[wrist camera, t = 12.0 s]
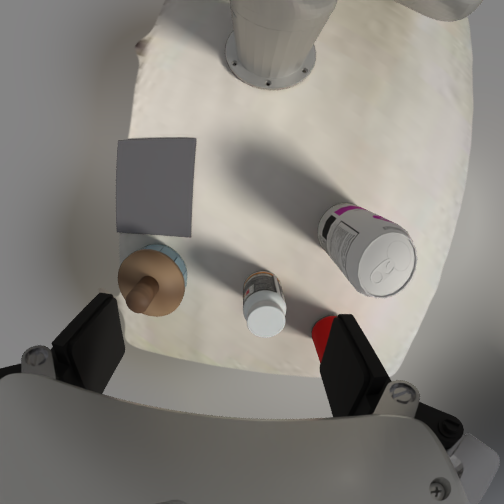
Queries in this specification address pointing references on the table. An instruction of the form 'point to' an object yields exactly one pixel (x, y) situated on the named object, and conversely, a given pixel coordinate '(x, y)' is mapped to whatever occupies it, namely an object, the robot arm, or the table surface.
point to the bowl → (172, 255)
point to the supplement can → (368, 249)
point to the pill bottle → (264, 304)
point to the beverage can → (321, 334)
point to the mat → (155, 186)
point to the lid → (151, 283)
